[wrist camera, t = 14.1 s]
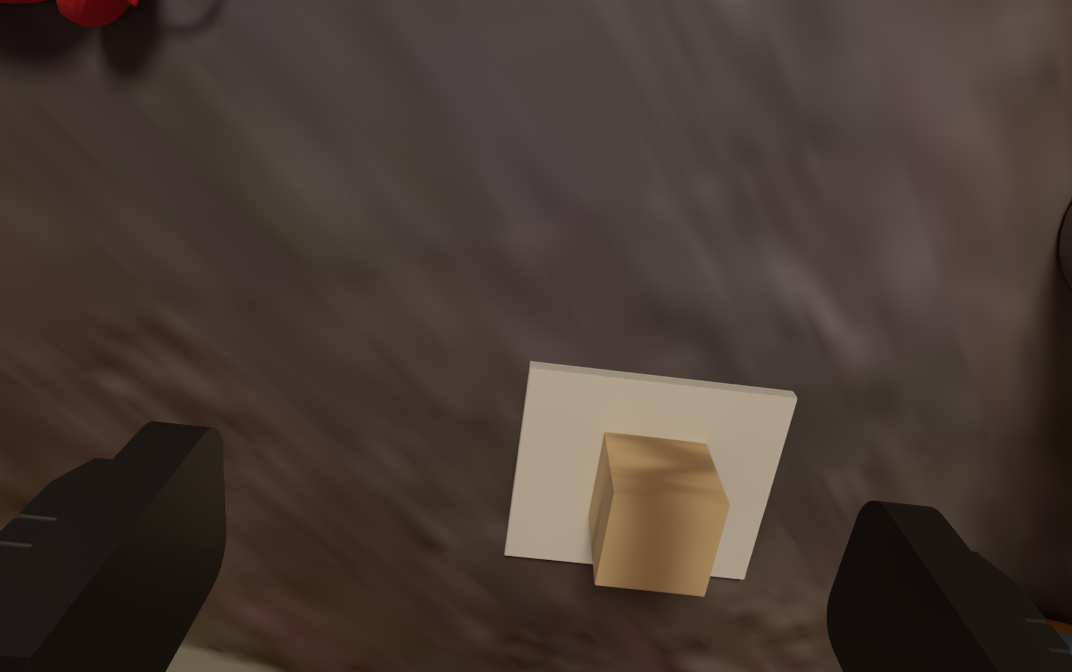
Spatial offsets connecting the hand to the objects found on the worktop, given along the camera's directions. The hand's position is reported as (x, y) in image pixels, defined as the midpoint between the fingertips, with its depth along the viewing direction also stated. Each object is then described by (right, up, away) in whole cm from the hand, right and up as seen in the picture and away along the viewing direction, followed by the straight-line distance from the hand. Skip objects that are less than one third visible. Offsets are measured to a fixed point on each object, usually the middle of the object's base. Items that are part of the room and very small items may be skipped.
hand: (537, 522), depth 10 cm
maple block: (+6, -6, +32) cm, 33 cm away
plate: (+6, -5, +33) cm, 34 cm away
